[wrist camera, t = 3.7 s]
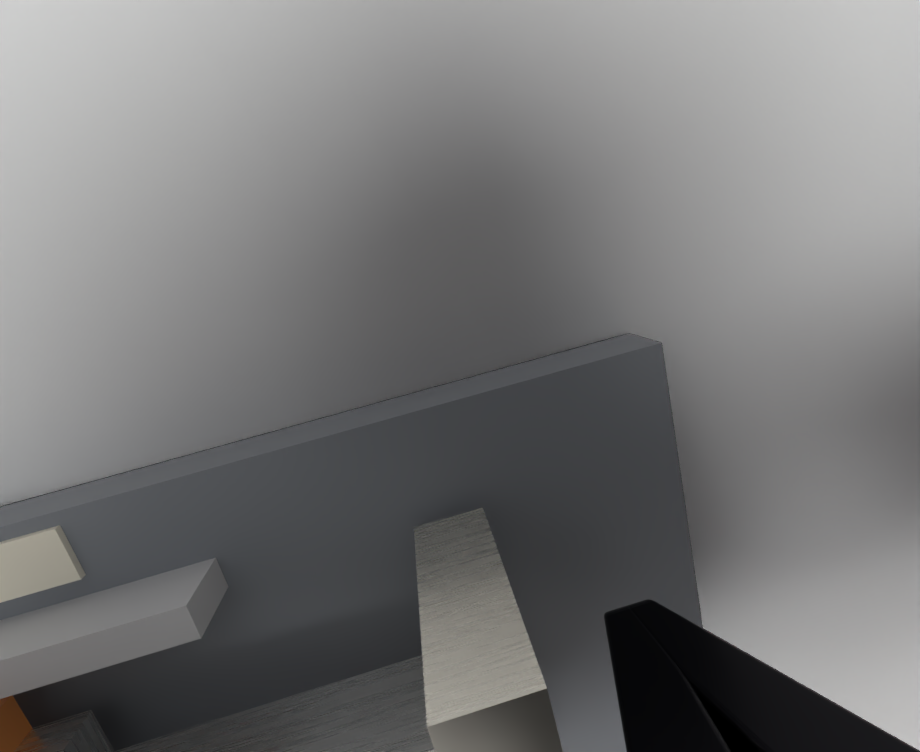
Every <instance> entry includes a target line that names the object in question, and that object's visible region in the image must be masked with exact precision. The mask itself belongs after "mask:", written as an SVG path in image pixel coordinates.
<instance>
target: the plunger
mask: <svg viewBox="0 0 920 752" xmlns="http://www.w3.org/2000/svg"><path fill="white" fill-rule="evenodd" d="M414 538H415V553H416V569H417V584H418V599H419V614H420V630H421V645H422V655H421V656H417V657H414V658H411V659H408V660H405V661H401V662H398V663H395V664H392V665H389V666H385V667H382V668H379V669H376V670H373V671H369V672H366V673H363V674H360V675H357V676H354V677H350V678H347V679H344V680H341V681H338V682H334V683H331V684H328V685H325V686H322V687H318V688H315V689H312V690H309V691H306V692H303V693H299V694H296V695H293V696H290V697H287V698H283V699H280V700H277V701H274V702H271V703H267V704H264V705H261V706H258V707H255V708H251V709H248V710H245V711H242V712H239V713H236V714H232V715H229V716H226V717H223V718H220V719H216V720H213V721H210V722H207V723H204V724H200V725H197V726H194V727H191V728H188V729H185V730H181V731H178V732H175V733H172V734H169V735H165V736H162V737H159V738H156V739H153V740H149V741H146V742H143V743H140V744H137V745H133V746H130V747H127V748H124V749H121V750H118V751H114V750H113V748H112V746H111V744H110V743H109V741H108V739H107V737H106V736H105V734H104V732H103V730H102V729H101V727H100V725H99V723H98V721H97V720H96V718H95V716H94V714H93V713H92V711H91V710H90V711H87V712H83V713H80V714H77V715H74V716H70V717H67V718H64V719H61V720H57V721H54V722H51V723H48V724H44V725H41V726H38V727H35V728H32V729H31V731H30V732H29V733H28V735H27V736H26V737H25V738H24V740H23V741H22V742H21V743H20V745H19V746H18V747H17V748H16V750H15V751H14V752H563V750H562V746H561V742H560V738H559V734H558V730H557V726H556V722H555V718H554V714H553V710H552V706H551V702H550V698H549V694H548V690H547V687H546V684H545V681H544V679H543V676H542V673H541V670H540V667H539V664H538V662H537V659H536V656H535V653H534V650H533V648H532V645H531V642H530V639H529V636H528V634H527V631H526V628H525V625H524V622H523V619H522V617H521V614H520V611H519V608H518V605H517V603H516V600H515V597H514V594H513V591H512V589H511V586H510V583H509V580H508V577H507V574H506V572H505V569H504V566H503V563H502V560H501V558H500V555H499V552H498V549H497V546H496V544H495V541H494V538H493V535H492V532H491V529H490V527H489V524H488V521H487V518H486V515H485V513H484V510H483V507H481V508H478V509H474V510H471V511H468V512H464V513H461V514H457V515H454V516H451V517H447V518H444V519H440V520H437V521H434V522H430V523H427V524H423V525H420V526H417V527H414Z"/></svg>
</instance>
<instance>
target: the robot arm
mask: <svg viewBox="0 0 920 752" xmlns="http://www.w3.org/2000/svg"><path fill="white" fill-rule="evenodd" d="M604 621H605V627H606V633H607V639H608V645H609V651H610V657H611V663H612V668H613V674H614V680H615V686H616V692H617V698H618V704H619V710H620V716H621V722H622V728H623V734H624V740H625V746H626V752H920V751H919V750H917V749H915V748H914V747H912V746H910V745H908V744H907V743H905V742H903V741H901V740H900V739H898V738H896V737H894V736H893V735H891V734H889V733H887V732H885V731H884V730H882V729H880V728H878V727H877V726H875V725H873V724H871V723H870V722H868V721H866V720H864V719H863V718H861V717H859V716H857V715H855V714H854V713H852V712H850V711H848V710H847V709H845V708H843V707H841V706H840V705H838V704H836V703H834V702H832V701H831V700H829V699H827V698H825V697H824V696H822V695H820V694H818V693H817V692H815V691H813V690H811V689H810V688H808V687H806V686H804V685H802V684H801V683H799V682H797V681H795V680H794V679H792V678H790V677H788V676H787V675H785V674H783V673H781V672H779V671H778V670H776V669H774V668H772V667H771V666H769V665H767V664H765V663H764V662H762V661H760V660H758V659H757V658H755V657H753V656H751V655H749V654H748V653H746V652H744V651H742V650H741V649H739V648H737V647H735V646H734V645H732V644H730V643H728V642H726V641H725V640H723V639H721V638H719V637H718V636H716V635H714V634H712V633H711V632H709V631H707V630H705V629H704V628H702V627H700V626H698V625H696V624H695V623H693V622H691V621H689V620H688V619H686V618H684V617H682V616H681V615H679V614H677V613H675V612H674V611H672V610H670V609H668V608H666V607H665V606H663V605H661V604H659V603H658V602H656V601H654V600H650V599H646V600H643V601H640V602H637V603H633V604H630V605H628V606H624V607H621V608H617V609H614V610H611V611H608V612H606V613H605V614H604Z"/></svg>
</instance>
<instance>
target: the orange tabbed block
mask: <svg viewBox="0 0 920 752" xmlns="http://www.w3.org/2000/svg"><path fill="white" fill-rule="evenodd" d="M31 729H32V726H31V725H30V723H29V721H28V720H27V718H26V717H25V715H24V713H23V712H22V710H21V708H20V707H19V705H18V703H17V702H16V700H15V699H14V697H13V695H12V696H9V697H5V698H2V699H0V752H14V751H15V750H16V748H17V747H18V746H19V745H20V743H21V742H22V741H23V740H24V738H25V737H26V736H27V735H28V733H29V732H30V731H31Z"/></svg>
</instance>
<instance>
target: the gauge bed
mask: <svg viewBox="0 0 920 752" xmlns="http://www.w3.org/2000/svg"><path fill="white" fill-rule="evenodd" d="M481 507H483V510H484V513H485V515H486V518H487V521H488V524H489V527H490V529H491V532H492V535H493V538H494V541H495V544H496V546H497V549H498V552H499V555H500V558H501V560H502V563H503V566H504V569H505V572H506V574H507V577H508V580H509V583H510V586H511V589H512V591H513V594H514V597H515V600H516V603H517V605H518V608H519V611H520V614H521V617H522V619H523V622H524V625H525V628H526V631H527V634H528V636H529V639H530V642H531V645H532V648H533V650H534V653H535V656H536V659H537V662H538V664H539V667H540V670H541V673H542V676H543V679H544V681H545V684H546V687H547V690H548V694H549V698H550V702H551V706H552V710H553V714H554V718H555V722H556V726H557V730H558V734H559V738H560V742H561V746H562V750H563V752H626V746H625V740H624V734H623V728H622V722H621V716H620V710H619V704H618V698H617V692H616V686H615V680H614V674H613V668H612V663H611V657H610V651H609V645H608V639H607V633H606V627H605V621H604V614H605V613H606V612H608V611H611V610H614V609H617V608H621V607H624V606H628V605H630V604H633V603H637V602H640V601H643V600H646V599H650V600H654V601H656V602H658V603H659V604H661V605H663V606H665V607H666V608H668V609H670V610H672V611H674V612H675V613H677V614H679V615H681V616H682V617H684V618H686V619H688V620H689V621H691V622H693V623H695V624H696V625H698V626H700V627H702V628H703V626H702V619H701V612H700V605H699V598H698V591H697V584H696V577H695V571H694V564H693V557H692V550H691V543H690V536H689V529H688V522H687V515H686V508H685V501H684V494H683V487H682V480H681V473H680V466H679V459H678V452H677V445H676V438H675V431H674V425H673V418H672V411H671V404H670V397H669V390H668V383H667V376H666V369H665V362H664V355H663V348H662V343H661V342H658V341H654V340H651V339H647V338H644V337H640V336H637V335H633V334H630V333H629V334H625V335H622V336H618V337H614V338H611V339H607V340H604V341H600V342H596V343H593V344H589V345H585V346H582V347H578V348H575V349H571V350H567V351H564V352H560V353H556V354H553V355H549V356H546V357H542V358H538V359H535V360H531V361H528V362H524V363H520V364H517V365H513V366H509V367H506V368H502V369H499V370H495V371H491V372H488V373H484V374H480V375H477V376H473V377H470V378H466V379H462V380H459V381H455V382H451V383H448V384H444V385H441V386H437V387H433V388H430V389H426V390H422V391H419V392H415V393H412V394H408V395H404V396H401V397H397V398H393V399H390V400H386V401H383V402H379V403H375V404H372V405H368V406H364V407H361V408H357V409H354V410H350V411H346V412H343V413H339V414H335V415H332V416H328V417H325V418H321V419H317V420H314V421H310V422H307V423H303V424H299V425H296V426H292V427H288V428H285V429H281V430H278V431H274V432H270V433H267V434H263V435H259V436H256V437H252V438H249V439H245V440H241V441H238V442H234V443H230V444H227V445H223V446H220V447H216V448H212V449H209V450H205V451H201V452H198V453H194V454H191V455H187V456H183V457H180V458H176V459H172V460H169V461H165V462H162V463H158V464H154V465H151V466H147V467H143V468H140V469H136V470H133V471H129V472H125V473H122V474H118V475H114V476H111V477H107V478H104V479H100V480H96V481H93V482H89V483H85V484H82V485H78V486H75V487H71V488H67V489H64V490H60V491H57V492H53V493H49V494H46V495H42V496H38V497H35V498H31V499H28V500H24V501H20V502H17V503H13V504H9V505H6V506H2V507H0V699H2V698H5V697H9V696H12V695H13V697H14V699H15V700H16V702H17V703H18V705H19V707H20V708H21V710H22V712H23V713H24V715H25V717H26V718H27V720H28V721H29V723H30V725H31V726H32V728H35V727H38V726H41V725H44V724H48V723H51V722H54V721H57V720H61V719H64V718H67V717H70V716H74V715H77V714H80V713H83V712H87V711H90V710H91V711H92V713H93V714H94V716H95V718H96V720H97V721H98V723H99V725H100V727H101V729H102V730H103V732H104V734H105V736H106V737H107V739H108V741H109V743H110V744H111V746H112V748H113V750H114V751H118V750H121V749H124V748H127V747H130V746H133V745H137V744H140V743H143V742H146V741H149V740H153V739H156V738H159V737H162V736H165V735H169V734H172V733H175V732H178V731H181V730H185V729H188V728H191V727H194V726H197V725H200V724H204V723H207V722H210V721H213V720H216V719H220V718H223V717H226V716H229V715H232V714H236V713H239V712H242V711H245V710H248V709H251V708H255V707H258V706H261V705H264V704H267V703H271V702H274V701H277V700H280V699H283V698H287V697H290V696H293V695H296V694H299V693H303V692H306V691H309V690H312V689H315V688H318V687H322V686H325V685H328V684H331V683H334V682H338V681H341V680H344V679H347V678H350V677H354V676H357V675H360V674H363V673H366V672H369V671H373V670H376V669H379V668H382V667H385V666H389V665H392V664H395V663H398V662H401V661H405V660H408V659H411V658H414V657H417V656H421V655H422V645H421V630H420V614H419V599H418V584H417V569H416V553H415V538H414V527H417V526H420V525H423V524H427V523H430V522H434V521H437V520H440V519H444V518H447V517H451V516H454V515H457V514H461V513H464V512H468V511H471V510H474V509H478V508H481Z"/></svg>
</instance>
